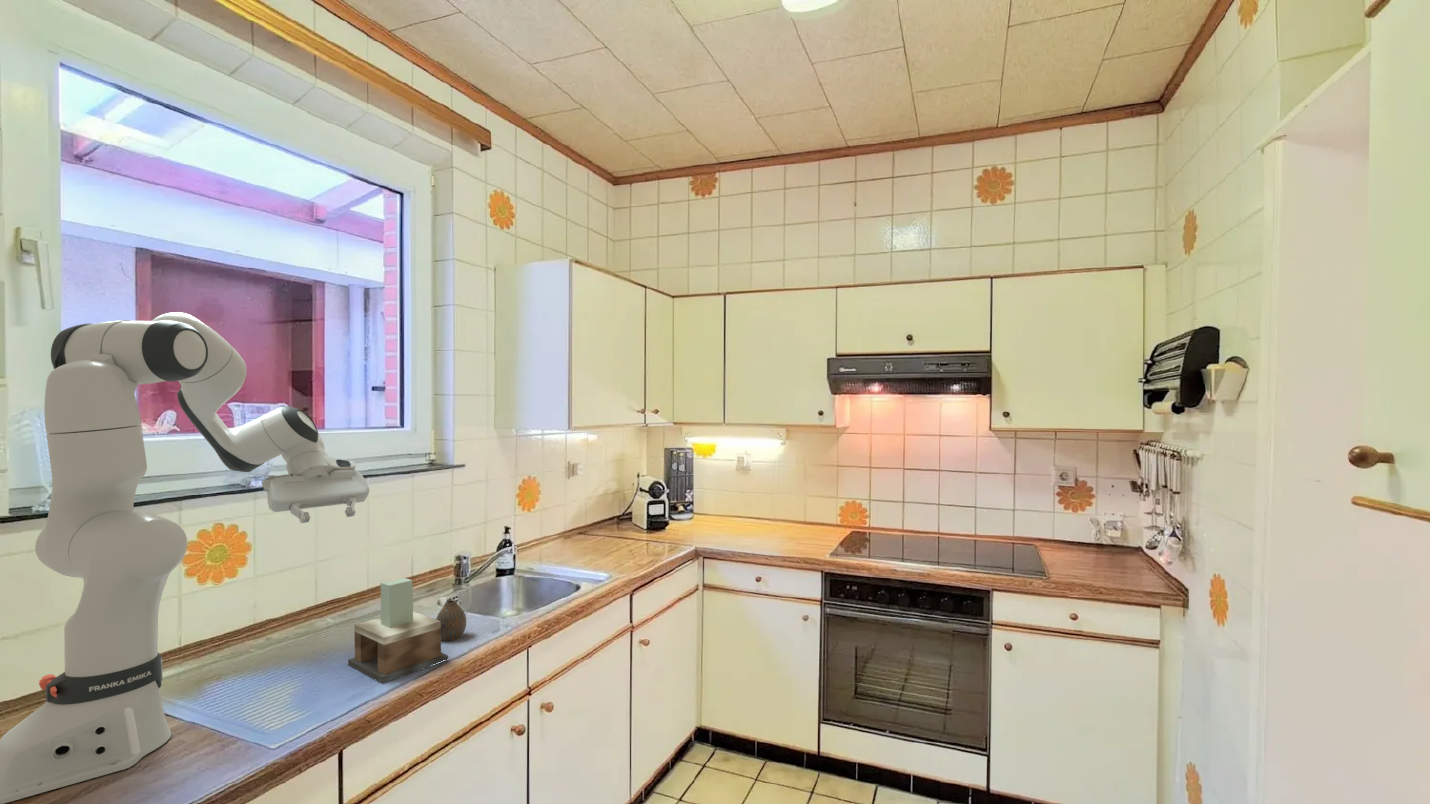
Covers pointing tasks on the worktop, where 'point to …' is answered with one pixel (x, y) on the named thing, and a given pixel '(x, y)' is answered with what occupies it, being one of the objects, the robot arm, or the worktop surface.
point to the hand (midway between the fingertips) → (329, 518)
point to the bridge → (396, 647)
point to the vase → (451, 621)
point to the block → (396, 602)
